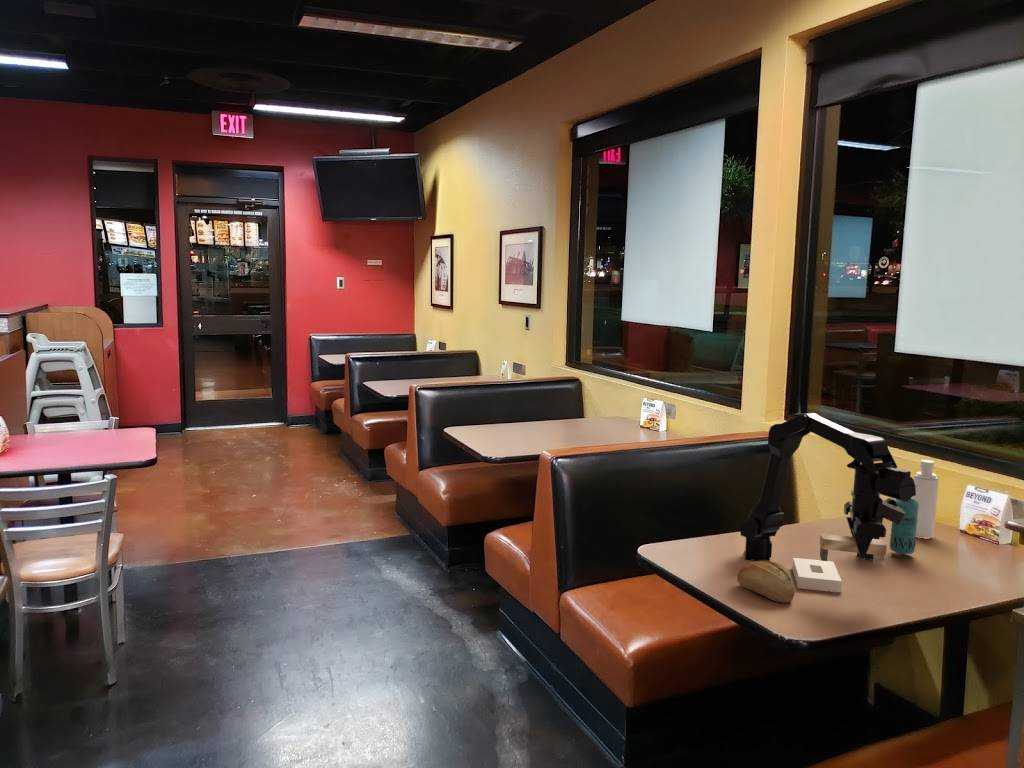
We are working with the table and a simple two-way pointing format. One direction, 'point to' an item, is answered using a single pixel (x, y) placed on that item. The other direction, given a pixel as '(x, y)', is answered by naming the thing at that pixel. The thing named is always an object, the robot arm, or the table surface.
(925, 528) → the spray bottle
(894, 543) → the beverage bottle
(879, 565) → the tan elongated block
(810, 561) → the white slotted block
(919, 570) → the table surface
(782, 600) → the bread roll
